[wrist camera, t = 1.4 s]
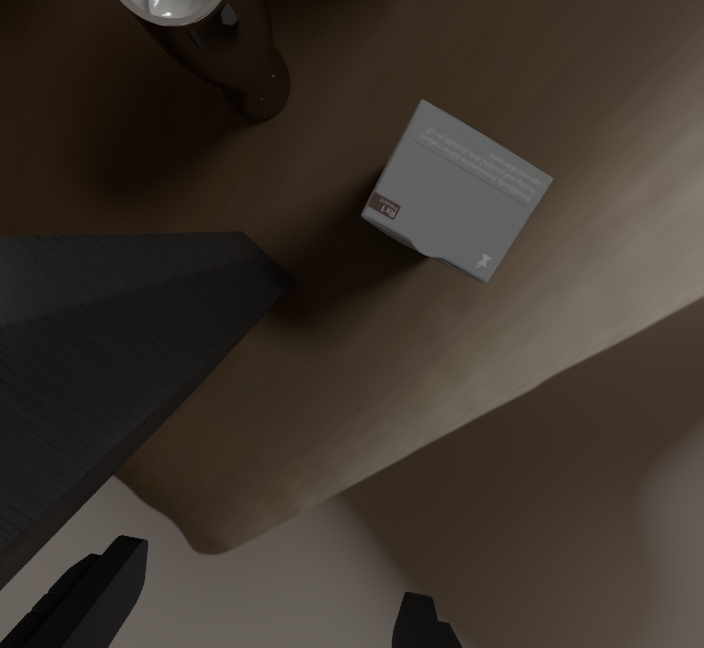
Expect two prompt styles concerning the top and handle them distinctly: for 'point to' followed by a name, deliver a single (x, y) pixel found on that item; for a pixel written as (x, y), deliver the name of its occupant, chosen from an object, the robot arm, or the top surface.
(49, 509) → the tall grey block
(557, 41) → the top surface
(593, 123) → the top surface
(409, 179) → the skincare box
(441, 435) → the top surface
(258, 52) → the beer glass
